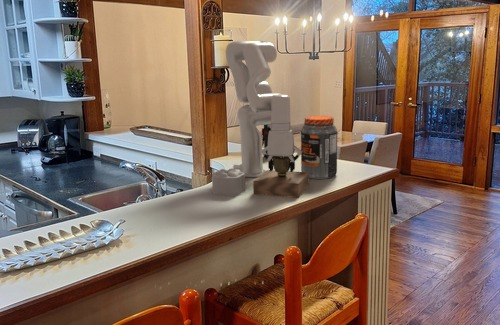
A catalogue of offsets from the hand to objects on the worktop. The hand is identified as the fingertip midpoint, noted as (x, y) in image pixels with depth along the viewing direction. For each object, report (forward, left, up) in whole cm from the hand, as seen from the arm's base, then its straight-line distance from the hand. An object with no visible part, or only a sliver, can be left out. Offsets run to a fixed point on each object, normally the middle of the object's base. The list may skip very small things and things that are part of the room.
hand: (281, 170), depth 182 cm
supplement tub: (+11, +25, -8) cm, 28 cm away
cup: (0, 0, -3) cm, 3 cm away
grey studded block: (-21, -7, -8) cm, 23 cm away
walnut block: (0, 0, -8) cm, 8 cm away
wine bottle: (-21, +61, -8) cm, 65 cm away
